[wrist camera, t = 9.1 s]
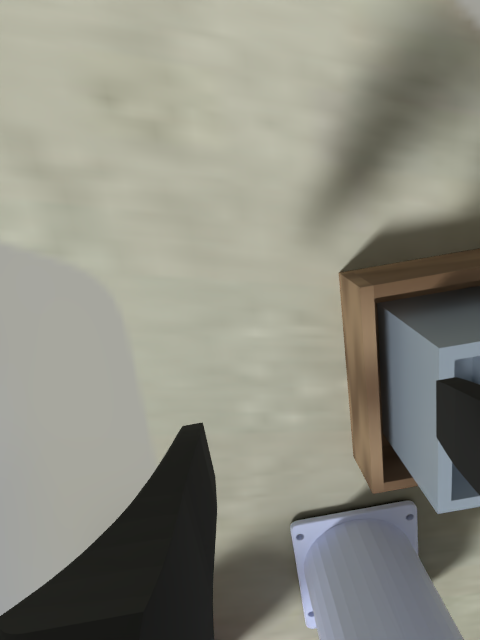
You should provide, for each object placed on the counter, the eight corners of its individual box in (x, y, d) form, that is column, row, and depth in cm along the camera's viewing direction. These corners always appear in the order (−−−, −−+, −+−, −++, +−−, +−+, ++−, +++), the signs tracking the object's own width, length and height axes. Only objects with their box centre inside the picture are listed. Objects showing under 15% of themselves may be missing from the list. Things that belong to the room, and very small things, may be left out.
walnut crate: (495, 426, 25) (539, 464, 21) (351, 452, 24) (372, 493, 21) (506, 241, 21) (561, 252, 18) (336, 271, 21) (360, 287, 17)
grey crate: (474, 417, 23) (558, 493, 18) (382, 433, 23) (437, 514, 18) (479, 285, 21) (580, 324, 15) (377, 302, 21) (439, 348, 15)
